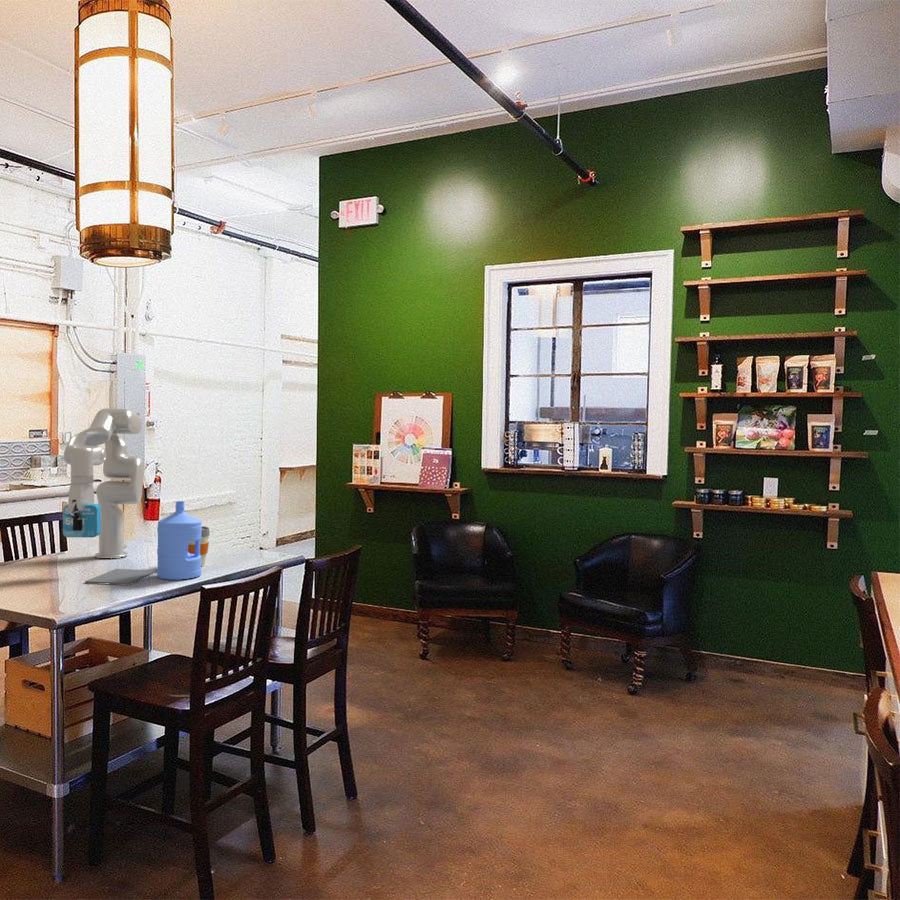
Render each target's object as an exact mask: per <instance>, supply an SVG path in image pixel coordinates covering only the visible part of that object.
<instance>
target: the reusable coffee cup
mask: <svg viewBox="0 0 900 900" xmlns="http://www.w3.org/2000/svg"><path fill="white" fill-rule="evenodd" d="M209 538H210V527H207V526H203V525H202V532H201V539H200V556H201V566H203V567H204V565H206V558H207V554H208V552H209V551H208V550H209V544H210V541H209ZM188 553H190V554H195V541H188Z"/></svg>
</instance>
